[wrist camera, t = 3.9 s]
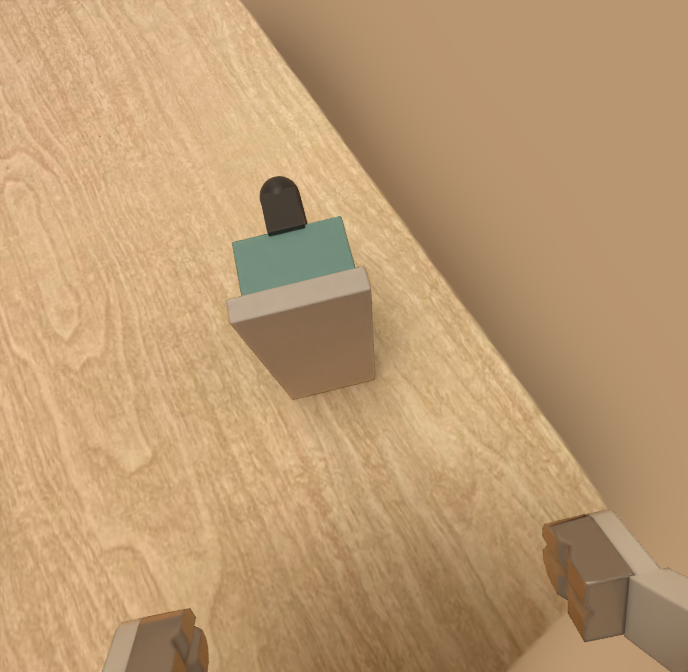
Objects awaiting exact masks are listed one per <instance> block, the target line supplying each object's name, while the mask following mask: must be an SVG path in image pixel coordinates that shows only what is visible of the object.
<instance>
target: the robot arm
mask: <svg viewBox="0 0 688 672" xmlns="http://www.w3.org/2000/svg"><path fill="white" fill-rule="evenodd" d="M542 536H543V538H544V540H545V541H546V543H547V545H546V546H545V548H544V549H543V561H544V564H545V568H546V572H547V574H548V577H549V579H550V581H551V584H552V585H553V587H554V589H555V591H556V593H557V594H558V595H560V596H561V597H563V598H564V599H566V600H568V614H569V616H570V618H571V619H572V621H573V623H574V625H575V626H576V628H577V630H578V632H579V633H580V635H581V637H582V639H583V640H584V642H589V641H593V640H599V639H604V638H608V637H613V636H618V635H623V634H625V635H624V636H625V637H626V638H627V639H628V640H630V641H631V642H632V643H634V644H635V645H636V646H638V647H639V648H640V649H641V650H643V651H644V652H645V653H647V654H648V655H649V656H651V657H652V658H654V659H655V660H656V661H657V662H659V663H660V664H661V665H663V666H664V667H665V668H667V669H668V670H669V671H671V672H688V578H687V577H685V576H683V575H682V574H679V573H677V572H676V571H673V570H672V569H670V568H664V569H661V568H660V567H659V566H658V564H657V563H656V562H655V561H654V559H653V558H652V557H651V556H650V555H649V553H648V552H647V551H646V550H645V549H644V547H643V546H642V545H641V544H640V543H639V541H638V540H637V539H636V538H635V537H634V535H633V534H632V533H631V532H630V531H629V529H628V528H627V527H626V526H625V525H624V523H623V522H622V521H621V520H620V519H619V517H618V516H617V515H616V514H615V513H614V512H613V511H611V510H610V509H607V510H602V511H598V512H594V513H590V514H587V515H586V514H583V515H579V516H575V517H571V518H567V519H563V520H559V521H555V522H551V523H547V524H544V526H543V528H542ZM195 619H196V617H195V615H194V613H193V612H192V610H191V608H188V609H182V610H178V611H173V612H168V613H163V614H158V615H153V616H148V617H143V618H139V619H134V620H130V621H125V622H121V624H120V625H119V627H118V628H117V629H116V631H115V634H114V637H113V640H112V643H111V646H110V649H109V652H108V655H107V658H106V661H105V664H104V667H103V670H102V672H208V664H209V654H208V644H207V640H206V636H205V634H204V632H203V630H202V629H200V628H198V627H196V626H194V625H195Z"/></svg>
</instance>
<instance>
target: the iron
mask: <svg viewBox="0 0 688 672" xmlns="http://www.w3.org/2000/svg"><path fill="white" fill-rule="evenodd" d="M260 202H261V205H262V209H263V214H264V219H265V224H266V228H267V233H268V234H265V235H261V236H256V237H252V238H248V239H244V240H240V241H236V242H233V243H232V246H233V252H234V257H235V263H236V268H237V274H238V280H239V285H240V291H241V296H240V297H236V298H232V299H228V300H226V305H227V311H228V317H229V323H230V324H231V325H232V327H233V328H234V329H235V330H236V332H237V333H238V334H239V335H240V336H241V338H242V339H243V340H244V341H245V342H246V344H247V345H248V346H249V347H250V349H251V350H252V351H253V352H254V353H255V355H256V356H257V357H258V358H259V360H260V361H261V362H262V363H263V364H264V366H265V367H266V368H267V369H268V370H269V372H270V373H271V374H272V375H273V377H274V378H275V379H276V380H277V381H278V383H279V384H280V385H281V386H282V388H283V389H284V390H285V391H286V392H287V394H288V395H289V396H290V397H291V399H292V400H294V399H298V398H302V397H306V396H310V395H314V394H318V393H322V392H326V391H330V390H334V389H338V388H342V387H346V386H350V385H354V384H359V383H363V382H367V381H371V380H374V379H375V366H374V344H373V322H372V300H371V286H370V283H369V279H368V276H367V272H366V269H365V267H364V266H362V267H358V268H355V265H354V261H353V257H352V254H351V250H350V246H349V243H348V239H347V235H346V232H345V228H344V224H343V221H342V217H341V216H338V217H334V218H330V219H326V220H322V221H318V222H314V223H310V224H307V220H306V216H305V212H304V208H303V204H302V200H301V197H300V193H299V190H298V188H297V186H296V184H295V183H294V182H293V181H292V180H290V179H288V178H286V177H282V176H277V177H273V178H270V179H268V180H267V181H266V182H265V183H264V184H263V186H262V188H261V191H260Z"/></svg>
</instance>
